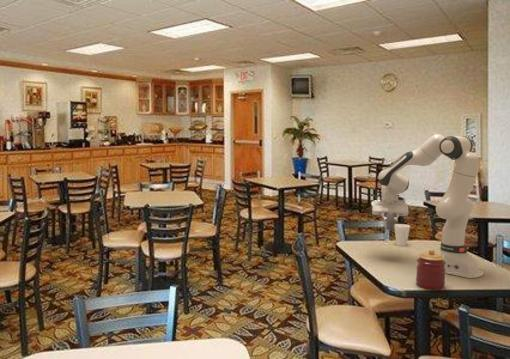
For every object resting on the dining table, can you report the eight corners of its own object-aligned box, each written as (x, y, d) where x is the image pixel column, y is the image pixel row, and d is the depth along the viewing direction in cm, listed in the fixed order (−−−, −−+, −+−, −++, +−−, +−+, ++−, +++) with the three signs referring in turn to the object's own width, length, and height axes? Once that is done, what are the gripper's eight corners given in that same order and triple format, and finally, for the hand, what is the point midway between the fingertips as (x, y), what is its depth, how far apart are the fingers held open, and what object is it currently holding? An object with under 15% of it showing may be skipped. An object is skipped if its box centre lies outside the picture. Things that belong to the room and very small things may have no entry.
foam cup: (390, 244, 287) (391, 225, 285) (399, 242, 292) (400, 223, 291) (403, 247, 279) (404, 227, 278) (411, 245, 285) (412, 225, 283)
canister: (409, 282, 213) (411, 247, 211) (430, 279, 217) (432, 245, 216) (429, 291, 201) (430, 254, 199) (450, 288, 205) (452, 251, 204)
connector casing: (394, 230, 245) (395, 210, 244) (386, 229, 246) (387, 210, 244) (393, 227, 251) (394, 208, 250) (385, 227, 252) (386, 208, 251)
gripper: (371, 197, 256) (371, 216, 247) (408, 198, 251) (409, 218, 243) (370, 203, 260) (371, 222, 252) (406, 204, 256) (408, 224, 248)
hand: (390, 220), depth 247 cm, fingers closed on connector casing, 4 cm apart
